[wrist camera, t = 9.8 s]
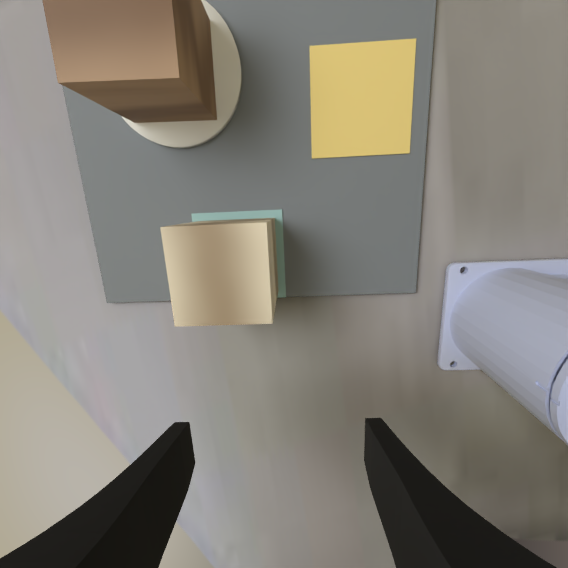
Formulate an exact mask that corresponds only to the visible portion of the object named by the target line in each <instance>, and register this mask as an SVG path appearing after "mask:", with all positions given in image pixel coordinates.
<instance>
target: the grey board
mask: <svg viewBox="0 0 568 568" xmlns="http://www.w3.org/2000/svg"><path fill="white" fill-rule="evenodd" d="M205 1H207V2H208V3H209V4H210V5H211V6H212V7H213V8H215V10H216V11H217V12H218V13H219V14H220V15H221V17H222V18H223V20H224V21H225V23H226V24H227V26H228V28H229V30H230V31H231V33H232V35H233V38H234V41H235V44H236V46H237V49H238V52H239V56H240V60H241V68H242V87H241V94H240V98H239V102H238V105H237V108H236V110H235V112H234V114H233V116H232V118H231V120H230V121H229V123H228V124H227V126H226V127H225V128H224V129H223V130H222V131H221V132H220V133H219V134H218V135H217V136H215V137H214V138H213V139H211V140H209V141H208V142H206V143H204V144H201V145H199V146H195V147H191V148H171V147H166V146H163V145H160V144H157V143H155V142H153V141H151V140H149V139H147V138H145V137H143V136H142V135H140V134H139V133H137V132H136V131H135V130H134V129H132V128H131V127H130V126H129V125H128V124H127V123H126V122H125V120H124V119H123V118H122V116H121V115H119V114H117V113H115V112H113V111H111V110H109V109H107V108H105V107H103V106H102V105H100V104H98V103H96V102H94V101H92V100H90V99H88V98H86V97H84V96H82V95H81V94H79V93H77V92H75V91H73V90H71V89H69V88H67V87H65V86H63V85H62V86H63V91H64V96H65V101H66V106H67V111H68V116H69V120H70V125H71V130H72V135H73V140H74V145H75V150H76V155H77V159H78V164H79V169H80V174H81V179H82V184H83V189H84V194H85V198H86V203H87V208H88V213H89V218H90V223H91V228H92V232H93V237H94V242H95V247H96V252H97V257H98V262H99V267H100V271H101V276H102V281H103V286H104V291H105V296H106V301H107V303H118V302H148V301H171V297H170V290H169V283H168V276H167V270H166V263H165V256H164V249H163V243H162V236H161V229H160V227H164V226H171V225H177V224H183V223H190V222H196V221H210V220H233V219H255V218H275V232H276V251H277V271H278V290H279V291H278V296H277V298H282V297H300V296H330V295H360V294H390V293H416V282H417V268H418V253H419V239H420V225H421V210H422V196H423V182H424V168H425V153H426V139H427V125H428V111H429V96H430V82H431V68H432V53H433V39H434V25H435V11H436V0H205Z"/></svg>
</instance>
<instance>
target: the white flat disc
mask: <svg viewBox="0 0 568 568" xmlns="http://www.w3.org/2000/svg"><path fill="white" fill-rule="evenodd" d="M201 1H202V3H203V6H204V8H205V10H206V12H207V15H208V17H209V19H210V28H211V42H212V55H213V69H214V83H215V97H216V111H217V120H206V121H177V122H148V123H134V122H132V121H130V120H128V119H126V118H124V117H123V116H122V118H123V119H124V120H125V122H126V123H127V124H128V125H129V126H130V127H131V128H132V129H134V130H135V131H136V132H137V133H139V134H140V135H142V136H143V137H145V138H147V139H149V140H151V141H153V142H155V143H157V144H160V145H163V146H166V147H171V148H191V147H195V146H199V145H201V144H204V143H206V142H208V141H209V140H211V139H213V138H214V137H215V136H217V135H218V134H219V133H220V132H221V131H222V130H223V129H224V128H225V127H226V126H227V124H228V123H229V121H230V120H231V118H232V116H233V114H234V112H235V110H236V108H237V105H238V102H239V98H240V94H241V87H242V68H241V60H240V56H239V52H238V49H237V46H236V44H235V41H234V38H233V35H232V33H231V31H230V30H229V28H228V26H227V24H226V23H225V21H224V20H223V18H222V17H221V15H220V14H219V13H218V12H217V11H216V10H215V8H213V7H212V6H211V5H210V4H209V3H208V2H207V1H205V0H201Z"/></svg>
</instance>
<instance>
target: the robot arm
mask: <svg viewBox="0 0 568 568" xmlns="http://www.w3.org/2000/svg"><path fill="white" fill-rule="evenodd" d="M462 267H465V270H464V272H463V273H460V269H461V268H462ZM453 361H455V362H454V364H452V365H450V363H451V362H453ZM437 363H438V366H439V367H440V368H441V369H442V370H482V371H483V372H485V373H486V374H487V375H488V376H489V377H490V378H491V379H493V380H494V381H495V382H496V383H497V384H498V385H499V386H501V387H502V388H503V389H504V390H505V391H506V392H507V393H509V394H510V395H511V396H512V397H513V398H514V399H515V400H517V401H518V402H519V403H520V404H521V405H522V406H523V407H525V408H526V409H527V410H528V411H529V412H530V413H531V414H533V415H534V416H535V417H536V418H537V419H538V420H540V421H541V422H542V423H543V424H544V425H545V426H546V427H548V428H549V429H550V430H551V431H552V432H553V433H554V434H556V435H557V436H558V437H559V438H560V439H561V440H563V441H564V442H565V443H566V444H567V445H568V258H561V259H534V260H507V261H480V262H454V263H451V264H449V265H448V267H447V269H446V277H445V288H444V298H443V309H442V319H441V330H440V340H439V351H438V361H437ZM364 461H365V466H366V471H367V475H368V480H369V484H370V488H371V491H372V494H373V498H374V501H375V504H376V507H377V510H378V513H379V516H380V519H381V522H382V525H383V528H384V531H385V534H386V537H387V540H388V543H389V546H390V549H391V552H392V555H393V558H394V562H395V565H396V568H556V567H555V566H553V565H551V564H550V563H548V562H546V561H545V560H543V559H541V558H540V557H538V556H537V555H535V554H534V553H532V552H531V551H529V550H528V549H526V548H525V547H523V546H522V545H520V544H519V543H517V542H516V541H514V540H513V539H511V538H510V537H509V536H507V535H506V534H504V533H503V532H501V531H500V530H499V529H497V528H496V527H495V526H493V525H492V524H491V523H489V522H488V521H487V520H485V519H484V518H483V517H481V516H480V515H479V514H477V513H476V512H475V511H474V510H472V509H471V508H470V507H468V506H467V505H466V504H465V503H464V502H462V501H461V500H460V499H459V498H458V497H457V496H455V495H454V494H453V493H452V492H451V491H450V490H448V489H447V488H446V487H445V486H444V485H443V484H442V483H441V482H440V481H439V480H438V479H437V478H436V477H435V476H434V475H432V474H431V473H430V472H429V471H428V470H427V469H426V468H425V467H424V466H423V465H422V464H421V463H420V461H419V460H418V459H417V458H416V457H415V456H414V455H413V454H412V453H411V452H410V451H409V450H408V449H407V448H406V446H405V445H404V444H403V443H402V442H401V441H400V440H399V438H398V437H397V436H396V435H395V434H394V433H393V432H392V430H391V429H390V428H389V427H388V426H387V424H386V423H385V422H384V421H383V420H382V419H381V418H365V451H364ZM194 466H195V458H194V451H193V444H192V437H191V431H190V424H189V422H175V423H174V424H173V425H171V426H170V427H169V428H168V429H167V430H166V431H165V432H164V433H163V434H162V435H161V436H160V437H159V438H158V439H157V440H156V441H155V442H154V443H153V444H152V445H151V446H150V447H149V448H148V449H147V450H146V451H145V452H144V453H143V454H142V455H141V456H139V457H138V458H137V459H136V460H135V461H134V462H133V463H132V464H131V465H130V466H129V467H127V468H126V469H125V470H124V471H123V472H122V473H121V474H120V475H118V476H117V477H116V478H115V479H114V480H113V481H112V482H110V483H109V484H108V485H107V486H106V487H105V488H103V489H102V490H101V491H99V492H98V493H97V494H96V495H94V496H93V497H92V498H91V499H89V500H88V501H87V502H85V503H84V504H83V505H82V506H80V507H79V508H77V509H76V510H75V511H73V512H72V513H70V514H69V515H67V516H66V517H65V518H63V519H62V520H60V521H59V522H57V523H56V524H54V525H53V526H51V527H50V528H49V529H47V530H46V531H44V532H43V533H41V534H40V535H38V536H36V537H35V538H33V539H32V540H30V541H28V542H27V543H25V544H24V545H22V546H20V547H19V548H17V549H15V550H14V551H12V552H11V553H9V554H7V555H6V556H4V557H2V558H0V568H158V567H159V564H160V561H161V559H162V556H163V553H164V550H165V548H166V546H167V543H168V540H169V538H170V535H171V533H172V530H173V528H174V525H175V523H176V520H177V517H178V515H179V512H180V510H181V507H182V505H183V502H184V499H185V497H186V494H187V491H188V488H189V485H190V481H191V477H192V473H193V470H194Z"/></svg>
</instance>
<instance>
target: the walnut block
mask: <svg viewBox="0 0 568 568" xmlns="http://www.w3.org/2000/svg"><path fill="white" fill-rule="evenodd" d="M43 5H44V11H45V16H46V21H47V27H48V32H49V37H50V43H51V48H52V53H53V58H54V64H55V69H56V74H57V80H58V83H60V84H61V85H63V86H65V87H67V88H69V89H71V90H73V91H75V92H77V93H79V94H81V95H82V96H84V97H86V98H88V99H90V100H92V101H94V102H96V103H98V104H100V105H102V106H103V107H105V108H107V109H109V110H111V111H113V112H115V113H117V114H119V115H121V116H123V117H124V118H126V119H128V120H130V121H132V122H134V123H148V122H177V121H206V120H217V111H216V97H215V83H214V69H213V55H212V42H211V28H210V19H209V17H208V15H207V12H206V10H205V8H204V6H203V3H202V1H201V0H43Z"/></svg>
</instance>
